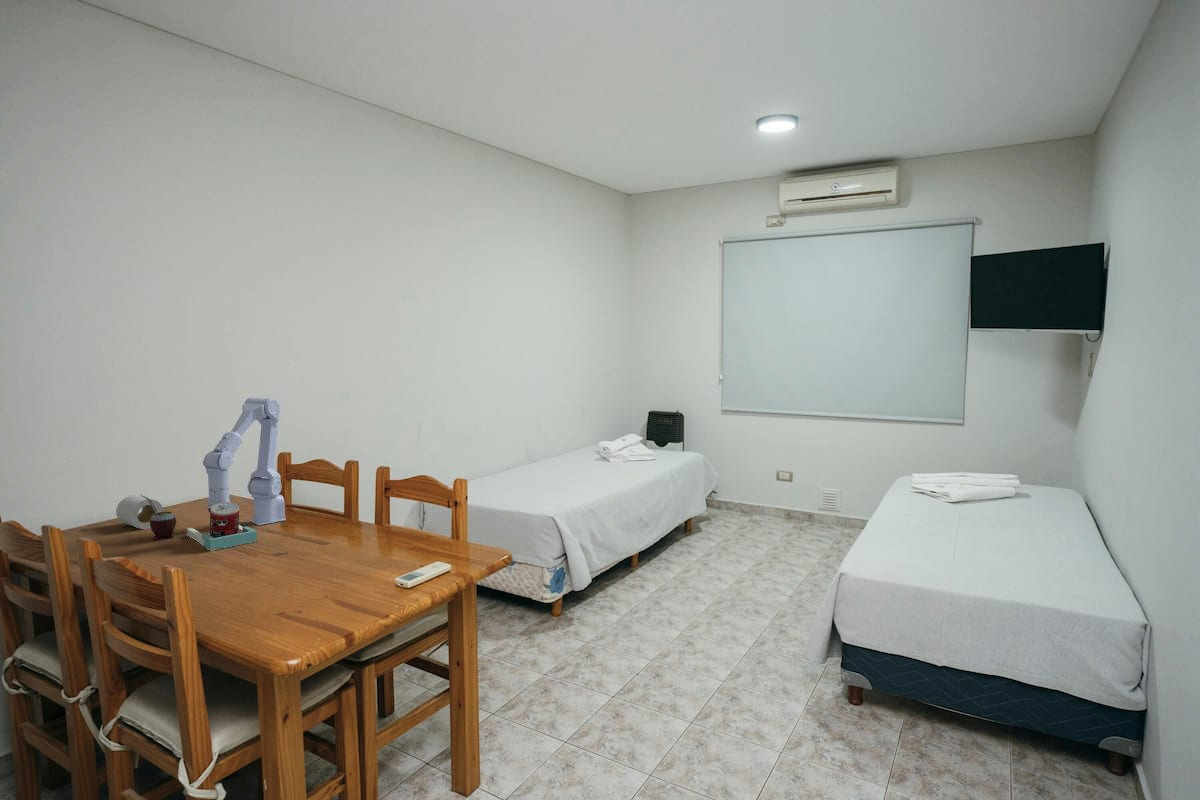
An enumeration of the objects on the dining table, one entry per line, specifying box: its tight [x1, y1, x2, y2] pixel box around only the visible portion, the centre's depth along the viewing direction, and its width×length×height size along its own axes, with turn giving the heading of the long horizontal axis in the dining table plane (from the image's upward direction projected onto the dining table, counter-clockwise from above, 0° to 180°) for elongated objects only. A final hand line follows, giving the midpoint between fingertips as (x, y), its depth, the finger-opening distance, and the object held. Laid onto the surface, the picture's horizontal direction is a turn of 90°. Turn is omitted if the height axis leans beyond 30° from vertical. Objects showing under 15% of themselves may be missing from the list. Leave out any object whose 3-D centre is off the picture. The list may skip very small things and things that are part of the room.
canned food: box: [209, 501, 240, 538], centre depth 211 cm, size 8×8×11 cm
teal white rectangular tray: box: [186, 524, 258, 550], centre depth 215 cm, size 14×22×4 cm, turn 48°
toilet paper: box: [115, 494, 164, 530], centre depth 227 cm, size 10×10×10 cm
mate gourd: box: [140, 494, 177, 542], centre depth 214 cm, size 8×8×15 cm
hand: (220, 529), depth 216 cm, fingers closed
